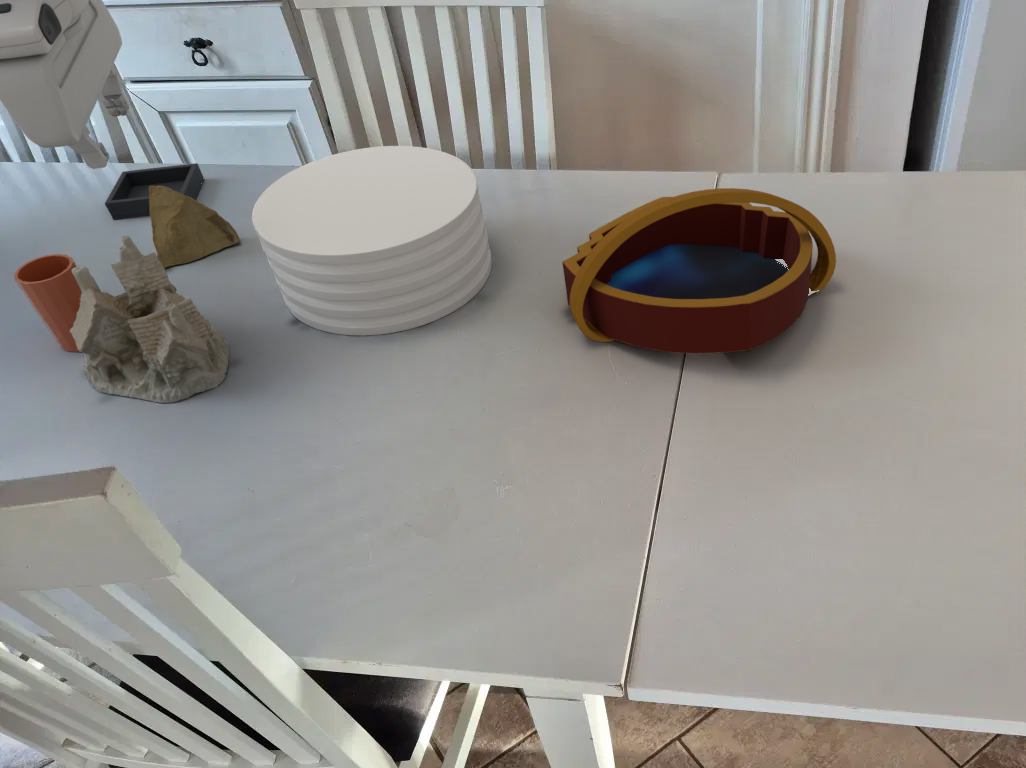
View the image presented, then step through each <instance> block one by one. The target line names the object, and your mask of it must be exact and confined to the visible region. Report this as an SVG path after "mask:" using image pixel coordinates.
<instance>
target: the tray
mask: <svg viewBox="0 0 1026 768" xmlns="http://www.w3.org/2000/svg"><path fill="white" fill-rule="evenodd" d="M204 177H205V176H204V175H203V172H202V171H201V168H200V165H199V163H197V162H196V163H195V162H194V163H187V164H178V165H177V164H176V165H170V166H169V165H168V166H159V167H152V168H141V169H133V170H132V169H131V170H124V171H122V172H121V174H120V176H119V177H118V179H117V181H116V182H115V184H114V186H113V188H112V189H111V191H110V193H109V195H108V197H107V199H106V200H105V202H104V205H105V207H106V209H107V211H108V213H109V214H110V216H111V219H112V220H113V221H114V220H124V219H132V218H140V217H141V218H142V217H149V216H150V204H149V186H150V185H151V186H165V187H168V188H171V189H172V190H174V191H177V192H179V193H181V194H183V195H185V196H189V197H191V198H193V199H195V200H197V198H198V196H199V193H200V190H201V188H202V185H203V183H204V181H205V178H204ZM203 178H204V179H203ZM201 183H202V184H201Z"/></svg>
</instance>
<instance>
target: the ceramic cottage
mask: <svg viewBox="0 0 1026 768" xmlns="http://www.w3.org/2000/svg"><path fill="white" fill-rule="evenodd" d="M120 239H121V242H122V244H123V245H122V246H120V247H119V257H120V261H118V262H114V263H111V264H110V266H111V269H112V270H113V272H114V273H115V276H116V278H117V279H118V280H119V282H120V284H121V286H122V288H123V289H124V291H125V292H124V293H121V294H118V295H115V296H114V295H112V294H110V292H104V291H102V290H101V288H100V287H99V285H98V283H97V281H96V279H95V278H94V276H93V275H92V274H91V272H90V270H89V268H88V267H86V266H83V265H77V267H75V268H73V269H72V273H73V275H74V277H75V279H76V281H77V283H78V285H79V287H80V289H81V291H82V295H81V298H80V301H81V302H80V308H79V311H78V312H77V316H76V317H77V318H76V320H75V322H74V323H73V327H72V328H71V329H70V333H71V334H72V336H73V338H74V340H75V342H76V346H77V348H78V350H79V351H80V352H79V353H82V354H83V358H84V361H83V362H82V366H83V372H84V373H85V375H86V377H87V381H88V383H89V384H90V385H91V386H92V388H94V389H95V390H96V391H97V392H99V393H102V394H103V393H104V394H110V395H116V396H120V397H126V398H127V397H129V398H134V399H138V400H144V401H149V402H150V401H151V402H153V403H154V402H155V403H159V404H164V403H165V404H166V403H176V402H180V401H181V400H186V399H189V398H190V397H193V396H194V395H195V394H198V393H204V392H205V391H208V390H213V389H214V388H218V387H219V385H221V383H223V382H224V380H225V378H226V377H227V374H226V373H227V372H228V367H229V360H230V355H231V352H230V345H229V344H228V342H227V341H226V340H225V338H224V336H223V335H222V333H221V332H220V331H217V330H215V329H214V328H213V327H212V325H211V322H210V321H209V320H208V318H205V317H204V316H203V315H201V313H200V312H199V311H198V310H197V306H196V305H195V303H194V302H193V300H192V299H191V298H190V297H189V298H185V297H184V296H183V295H182V294H179V293H177V291H178V289H177V287H176V286H175V285H174V284H173V283H172V282H171V281H170V279H169V276H168V273H167V271H166V268H165V269H164V267H163V266H162V264H161V263H160V261H159V259H158V257H157V253H155V252H151V253H149V254H147V255H144V254H143V253H142V252H141V251H140V249H139V248H138V246H137V245H136V244H135V243H134V241H133V240H132V238H131V237H130V236H129V235H121V237H120Z"/></svg>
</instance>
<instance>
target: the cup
mask: <svg viewBox="0 0 1026 768" xmlns="http://www.w3.org/2000/svg"><path fill="white" fill-rule="evenodd" d="M75 267H78V265H77V263H76V262H75V260H74V259H73V257H72V256H69V255H68V254H62V253H53V254H46V255H42V256H39V257H36V258H33V259H32V260H29V261H27V262H24V264H22V265H21V266H20V267H18V268H17V269H16V271H15V273H14V274H13V278H14V281H15V282H16V284H17V285H18V287H19V288H20V290H21V291H22V293H23V294H24V296H25V297H26V299H27V300H28V302H29V303H30V305H31V306H32V308H33V309H34V310H35V312H36V314H37V315H38V317H39V319H41V321H42V323H43V324H44V326H45V327H46V329H47V330H48V331H49V333H50V335H51V336H52V337H53V339H54V340H55V342H56V343H57V345H59V347H60V348H61V349H62V350H63V351H66V352H69V353H81V352H80V351H79V350H78V348H77V346H76V342H75V340H74V338H73V336H72V334H71V333H70V329H71V328H72V327H73V323H74V322H75V320H76V318H77V317H76V316H77V312H78V311H79V308H80V302H81V301H80V298H81V295H82V291H81V289H80V287H79V285H78V283H77V281H76V279H75V277H74V275H73V273H72V269H73V268H75Z"/></svg>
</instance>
